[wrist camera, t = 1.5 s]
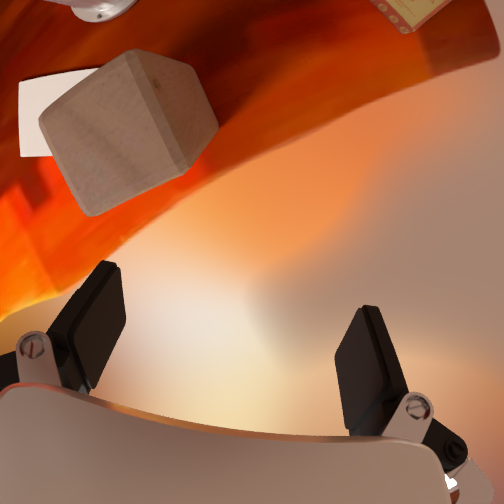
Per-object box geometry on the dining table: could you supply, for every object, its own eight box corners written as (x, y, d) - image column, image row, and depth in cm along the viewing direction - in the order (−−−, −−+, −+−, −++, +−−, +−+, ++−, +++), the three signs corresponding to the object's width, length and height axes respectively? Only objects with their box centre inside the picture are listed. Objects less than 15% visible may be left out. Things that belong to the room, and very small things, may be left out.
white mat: (21, 81, 31) (19, 82, 31) (138, 65, 32) (136, 65, 31) (22, 155, 38) (20, 156, 38) (133, 156, 38) (132, 157, 38)
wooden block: (192, 62, 32) (134, 41, 14) (222, 130, 36) (194, 172, 19) (124, 97, 34) (30, 118, 16) (155, 160, 38) (84, 225, 21)
